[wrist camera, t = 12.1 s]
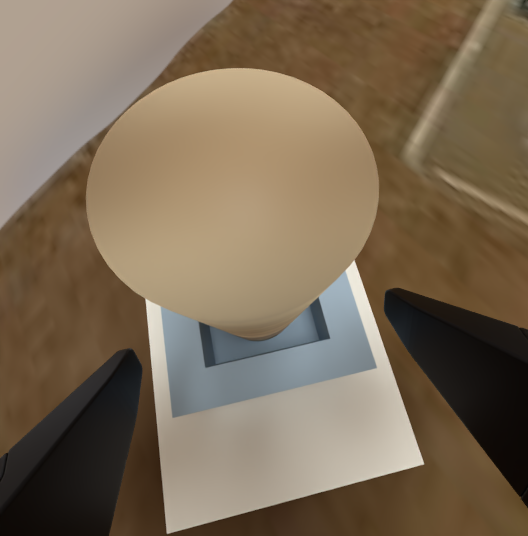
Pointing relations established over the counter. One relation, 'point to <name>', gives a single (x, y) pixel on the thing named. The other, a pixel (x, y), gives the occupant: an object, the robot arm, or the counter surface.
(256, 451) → the white base plate
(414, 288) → the counter surface
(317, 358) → the socket block
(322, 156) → the dowel
